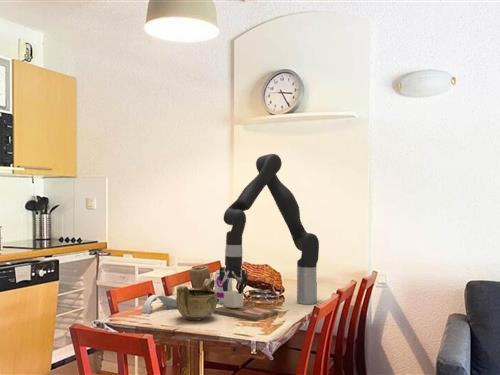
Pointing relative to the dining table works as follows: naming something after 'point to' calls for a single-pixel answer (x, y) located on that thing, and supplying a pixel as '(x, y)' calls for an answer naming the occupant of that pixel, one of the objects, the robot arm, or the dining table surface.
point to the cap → (233, 299)
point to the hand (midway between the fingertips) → (232, 292)
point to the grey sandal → (167, 301)
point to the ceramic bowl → (197, 301)
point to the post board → (246, 312)
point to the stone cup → (199, 276)
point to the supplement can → (221, 287)
